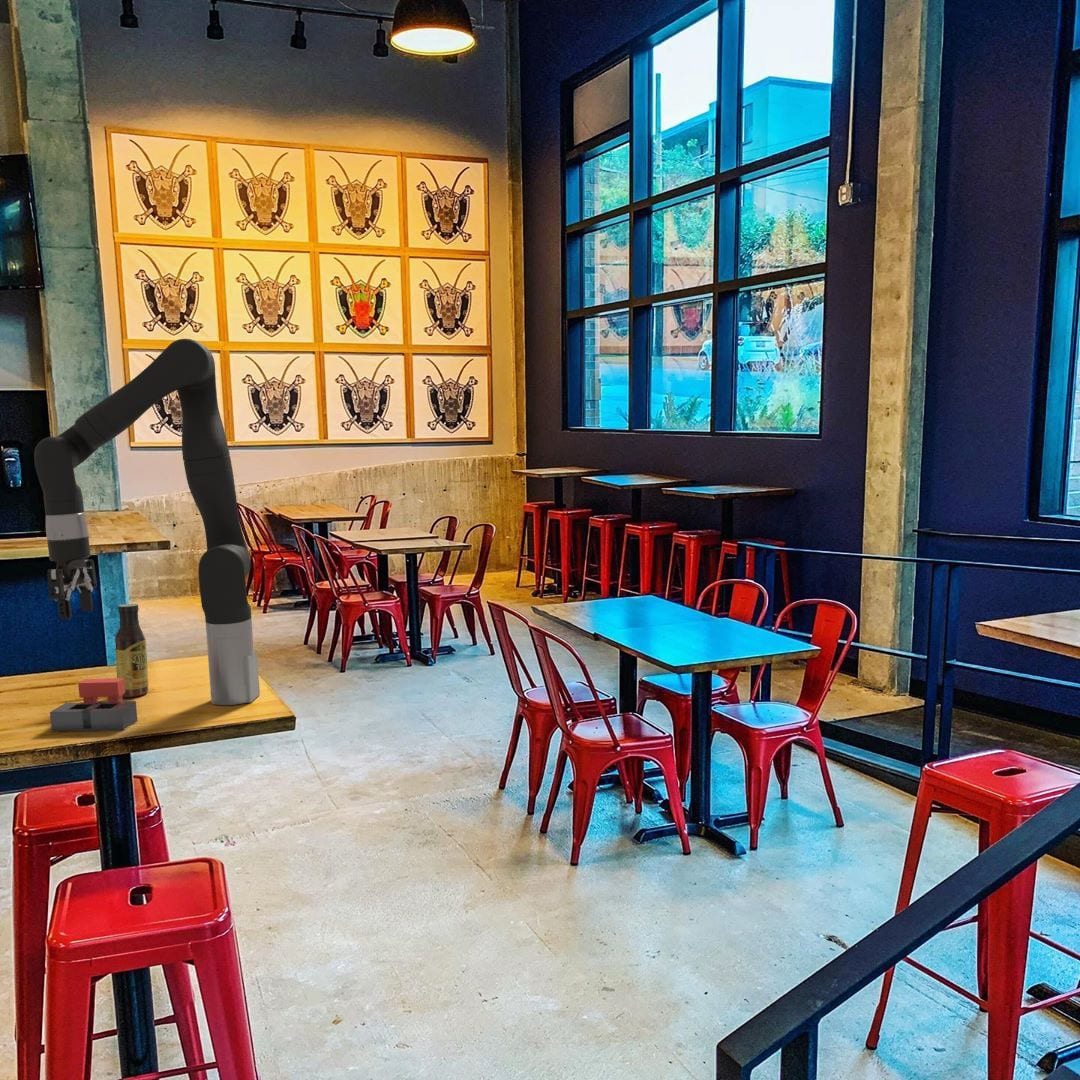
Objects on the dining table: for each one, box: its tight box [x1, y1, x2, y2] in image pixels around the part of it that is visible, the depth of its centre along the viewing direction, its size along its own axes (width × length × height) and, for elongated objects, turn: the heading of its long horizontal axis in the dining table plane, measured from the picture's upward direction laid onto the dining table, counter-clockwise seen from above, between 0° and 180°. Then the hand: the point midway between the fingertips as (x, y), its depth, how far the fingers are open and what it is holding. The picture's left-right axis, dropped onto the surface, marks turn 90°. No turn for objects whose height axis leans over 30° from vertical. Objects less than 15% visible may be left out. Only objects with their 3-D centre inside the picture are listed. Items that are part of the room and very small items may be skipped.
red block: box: [77, 677, 125, 702], centre depth 192 cm, size 8×3×7 cm, turn 89°
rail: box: [49, 700, 138, 732], centre depth 184 cm, size 14×6×4 cm, turn 89°
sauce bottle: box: [114, 603, 150, 698], centre depth 205 cm, size 6×6×20 cm
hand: (76, 614), depth 192 cm, fingers open, 8 cm apart
